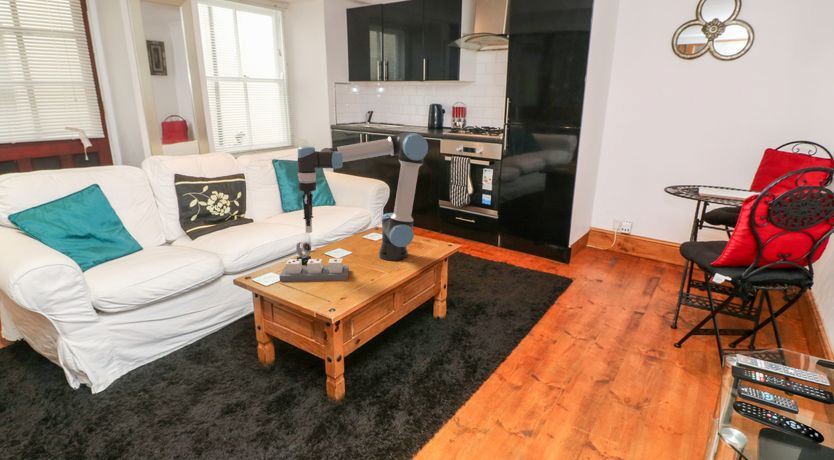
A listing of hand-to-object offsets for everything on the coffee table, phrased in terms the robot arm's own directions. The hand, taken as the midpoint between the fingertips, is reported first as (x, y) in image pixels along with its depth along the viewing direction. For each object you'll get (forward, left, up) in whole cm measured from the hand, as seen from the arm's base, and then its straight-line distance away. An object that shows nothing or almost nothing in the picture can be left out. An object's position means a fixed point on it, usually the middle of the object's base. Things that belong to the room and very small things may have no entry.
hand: (308, 232), depth 208 cm
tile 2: (-3, +5, -18) cm, 18 cm away
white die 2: (-12, +5, -18) cm, 22 cm away
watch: (+5, -13, -20) cm, 25 cm away
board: (-3, +5, -20) cm, 20 cm away
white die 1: (+7, +5, -18) cm, 19 cm away
